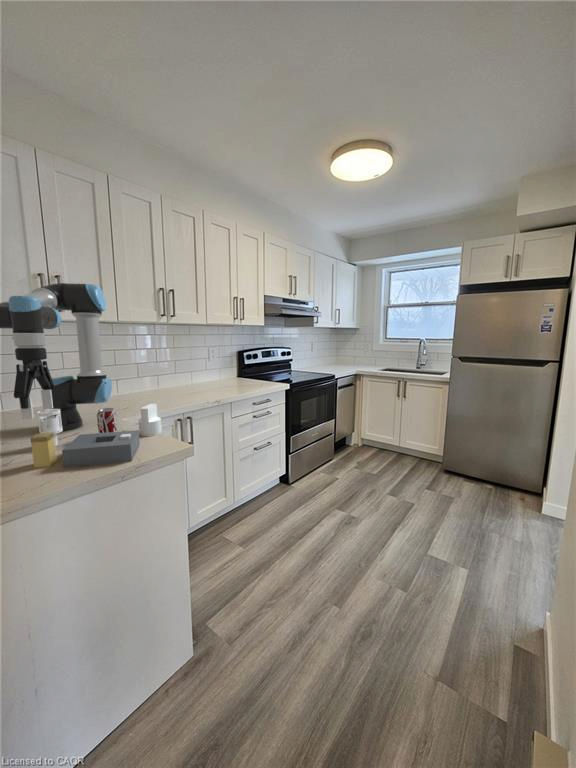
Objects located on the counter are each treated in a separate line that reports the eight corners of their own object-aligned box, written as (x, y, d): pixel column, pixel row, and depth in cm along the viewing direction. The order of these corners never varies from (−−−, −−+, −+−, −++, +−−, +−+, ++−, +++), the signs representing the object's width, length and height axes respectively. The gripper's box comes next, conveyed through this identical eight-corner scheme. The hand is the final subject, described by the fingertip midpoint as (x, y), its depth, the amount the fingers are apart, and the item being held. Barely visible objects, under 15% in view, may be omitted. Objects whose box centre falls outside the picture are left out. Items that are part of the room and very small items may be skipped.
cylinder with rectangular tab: (145, 429, 141) (143, 403, 139) (165, 429, 140) (163, 403, 138) (135, 436, 132) (133, 408, 130) (156, 436, 132) (154, 408, 130)
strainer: (61, 441, 125) (56, 405, 122) (66, 445, 120) (62, 407, 118) (39, 446, 120) (34, 408, 117) (44, 450, 115) (39, 411, 113)
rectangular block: (41, 462, 105) (37, 433, 103) (56, 460, 106) (53, 432, 105) (34, 467, 101) (30, 438, 99) (50, 466, 102) (46, 436, 100)
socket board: (81, 450, 116) (79, 432, 115) (139, 444, 121) (138, 428, 120) (64, 467, 101) (61, 447, 100) (131, 460, 106) (130, 441, 105)
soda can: (100, 436, 131) (97, 408, 130) (118, 434, 134) (116, 407, 132) (98, 441, 125) (95, 412, 123) (116, 438, 128) (114, 410, 126)
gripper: (35, 346, 108) (43, 405, 111) (-10, 348, 84) (1, 424, 87) (60, 345, 110) (67, 404, 113) (23, 348, 86) (33, 422, 90)
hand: (38, 413), depth 100 cm, fingers open, 13 cm apart
